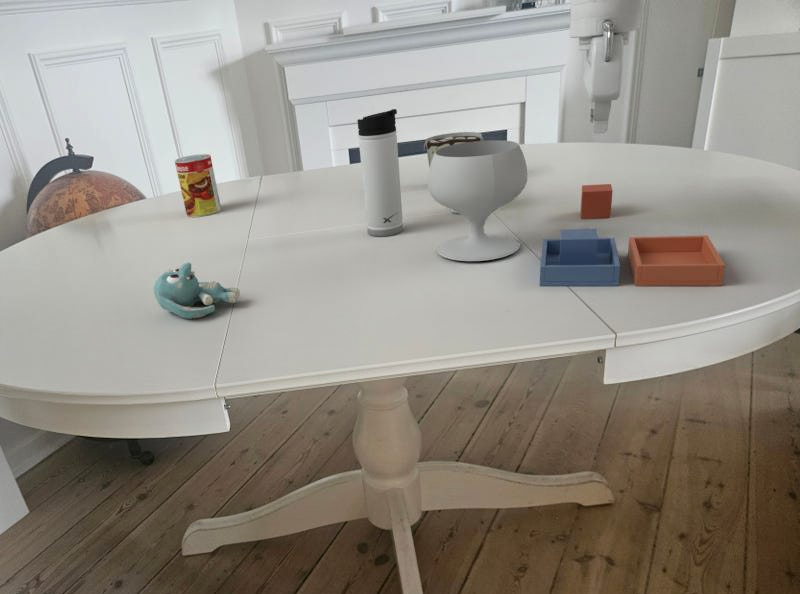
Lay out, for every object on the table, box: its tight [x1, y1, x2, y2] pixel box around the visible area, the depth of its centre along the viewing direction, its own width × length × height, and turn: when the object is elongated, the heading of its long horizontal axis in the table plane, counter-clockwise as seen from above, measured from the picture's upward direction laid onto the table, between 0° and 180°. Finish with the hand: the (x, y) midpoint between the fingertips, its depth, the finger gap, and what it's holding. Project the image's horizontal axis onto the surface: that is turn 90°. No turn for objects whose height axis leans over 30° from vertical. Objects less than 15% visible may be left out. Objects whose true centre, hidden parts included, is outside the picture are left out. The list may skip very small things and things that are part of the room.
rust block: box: [580, 183, 614, 220], centre depth 103 cm, size 4×4×4 cm
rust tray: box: [627, 234, 726, 287], centre depth 79 cm, size 9×11×3 cm
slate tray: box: [539, 237, 621, 287], centre depth 83 cm, size 9×11×3 cm
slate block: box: [559, 228, 599, 265], centre depth 82 cm, size 4×4×4 cm
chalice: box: [427, 139, 528, 262], centre depth 93 cm, size 14×14×15 cm
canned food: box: [174, 153, 222, 218], centre depth 140 cm, size 8×8×12 cm
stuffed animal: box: [153, 261, 241, 320], centre depth 88 cm, size 11×7×12 cm
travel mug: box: [357, 108, 404, 238], centre depth 106 cm, size 6×7×20 cm
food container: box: [423, 131, 485, 168], centre depth 134 cm, size 12×6×10 cm, turn 80°
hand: (597, 127), depth 91 cm, fingers open, 8 cm apart
